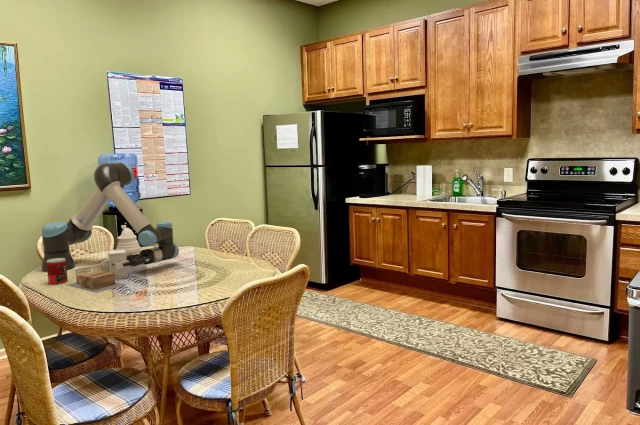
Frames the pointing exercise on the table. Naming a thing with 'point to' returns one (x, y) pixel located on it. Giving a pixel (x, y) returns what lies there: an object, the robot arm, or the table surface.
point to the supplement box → (116, 258)
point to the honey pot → (128, 242)
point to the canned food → (57, 271)
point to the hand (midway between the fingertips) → (109, 265)
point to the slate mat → (96, 289)
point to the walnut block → (97, 280)
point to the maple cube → (79, 278)
